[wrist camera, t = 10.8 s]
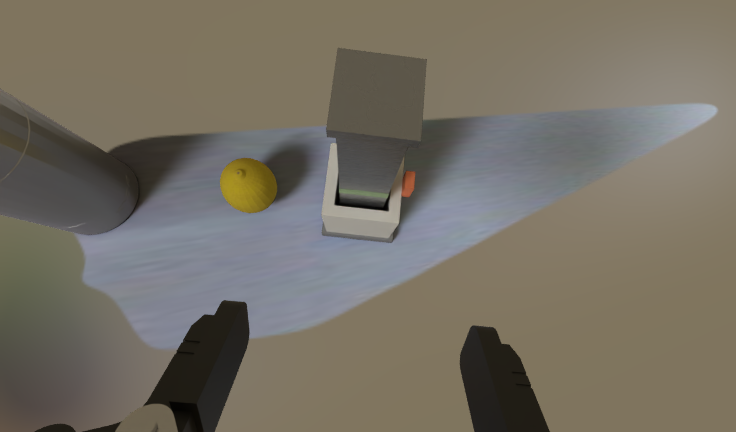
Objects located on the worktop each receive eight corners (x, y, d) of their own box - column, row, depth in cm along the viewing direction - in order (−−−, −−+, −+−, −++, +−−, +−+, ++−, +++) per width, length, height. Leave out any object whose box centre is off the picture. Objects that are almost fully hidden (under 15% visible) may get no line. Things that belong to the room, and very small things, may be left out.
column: (336, 211, 34) (326, 129, 17) (341, 165, 35) (337, 48, 18) (384, 216, 34) (421, 141, 17) (389, 170, 35) (426, 59, 19)
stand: (322, 235, 40) (313, 211, 29) (330, 174, 42) (324, 129, 31) (393, 243, 40) (411, 222, 29) (398, 182, 42) (417, 140, 31)
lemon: (283, 174, 41) (268, 146, 34) (282, 219, 40) (266, 201, 32) (236, 174, 41) (210, 146, 33) (233, 220, 40) (206, 201, 32)
